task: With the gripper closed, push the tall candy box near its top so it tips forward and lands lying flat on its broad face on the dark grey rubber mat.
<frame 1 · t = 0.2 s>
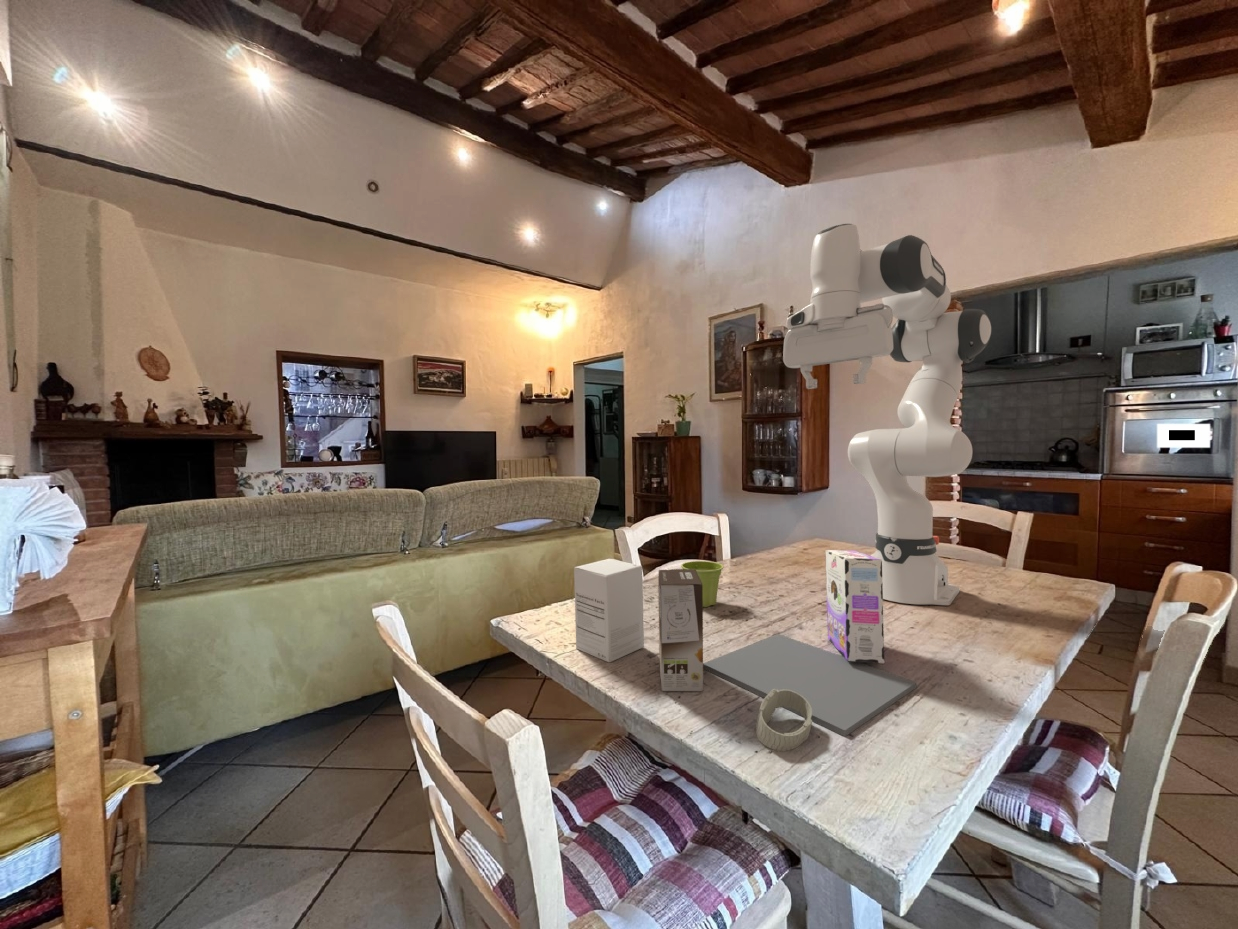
hand: (834, 386, 96), 47 cm above the table, tool pointing down, fingers open, 8 cm apart
candy box: (853, 651, 86), on the table
coffee box: (680, 679, 78), on the table
plant pot: (702, 604, 114), on the table
beige ribbed ring: (784, 735, 63), on the table
supplement box: (609, 649, 90), on the table
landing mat: (804, 677, 78), on the table
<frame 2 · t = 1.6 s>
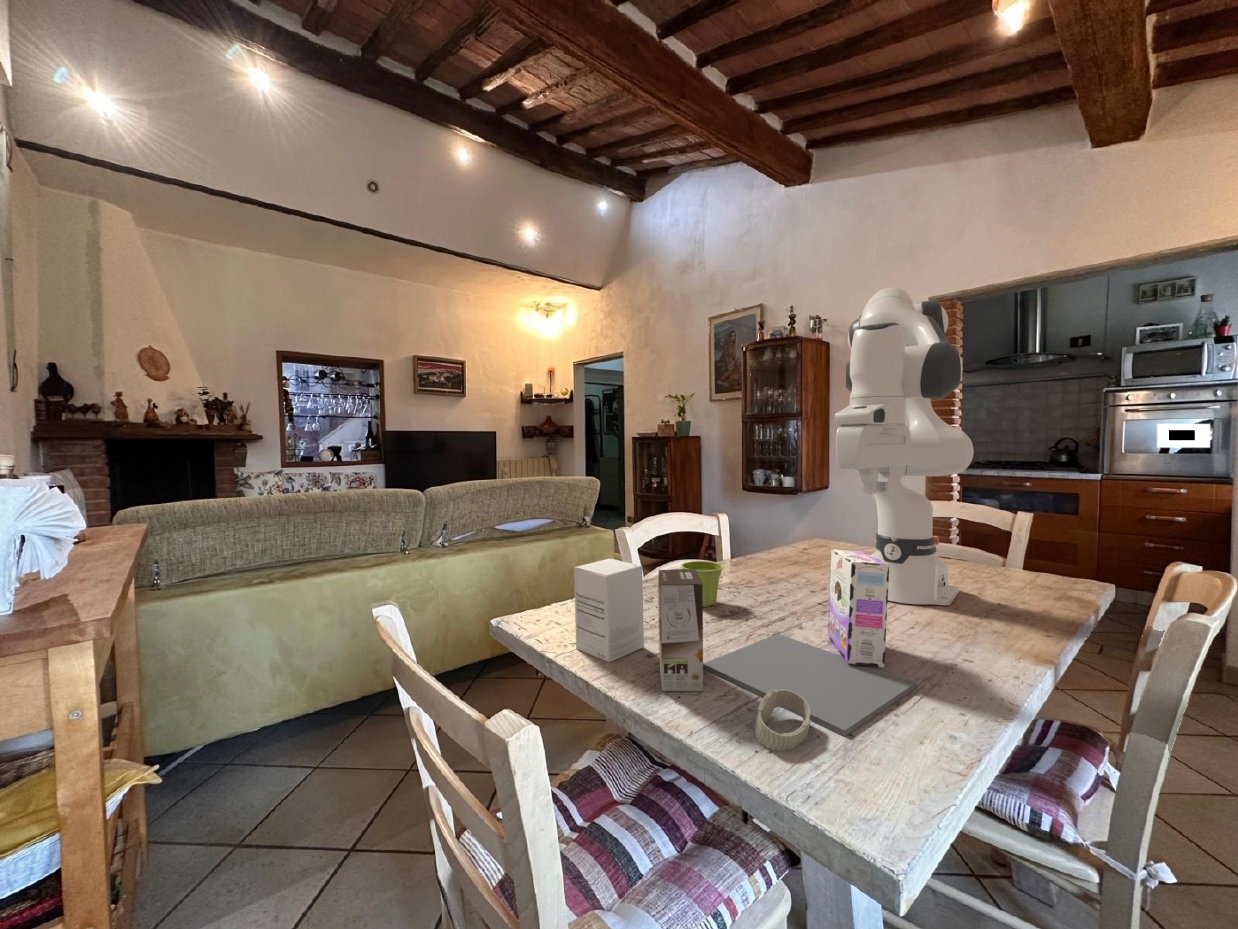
hand: (876, 492, 90), 27 cm above the table, tool pointing down, fingers open, 3 cm apart
candy box: (853, 652, 86), on the table, touching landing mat
everything else where it was.
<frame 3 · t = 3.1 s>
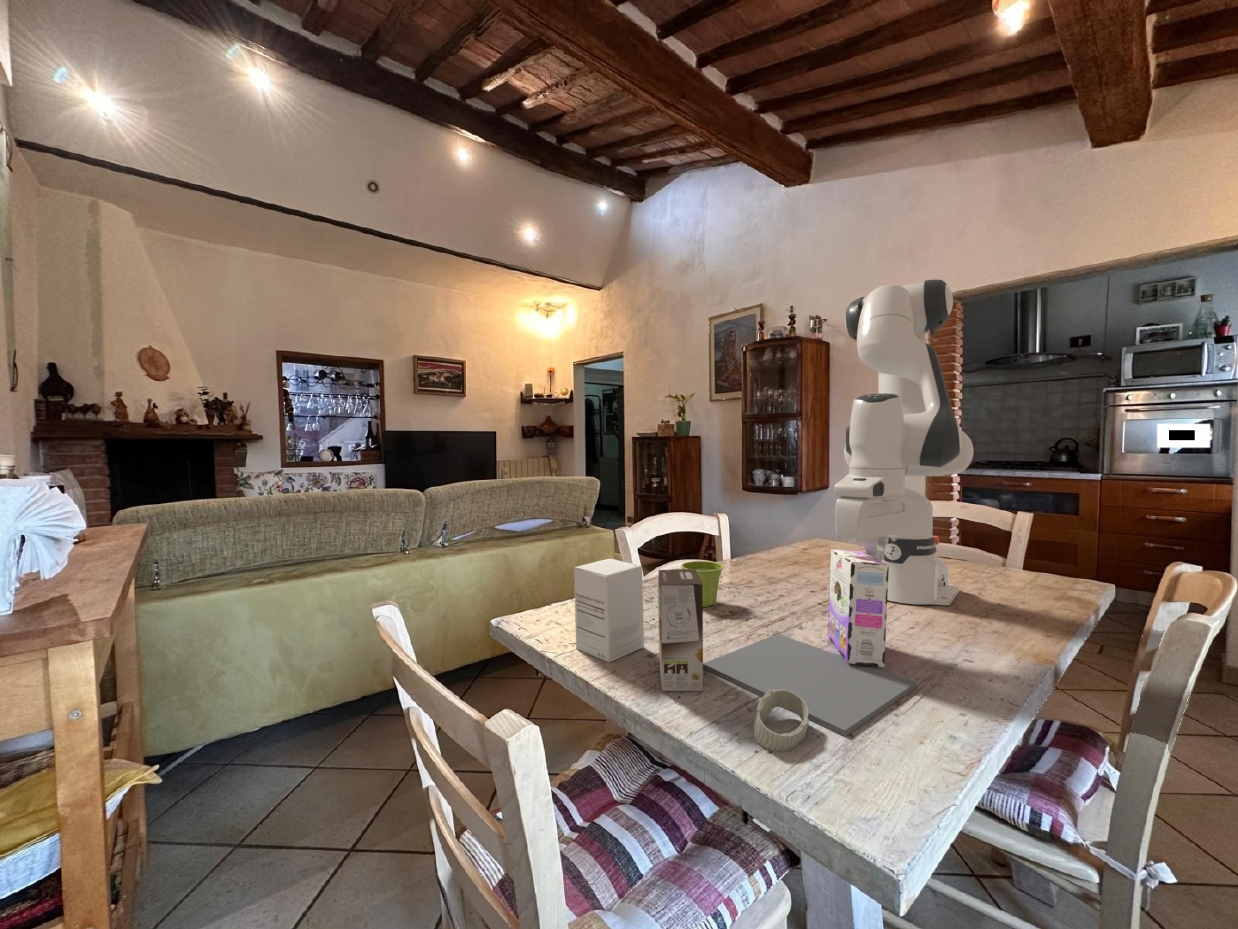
hand: (875, 561, 90), 15 cm above the table, tool pointing down, fingers closed
candy box: (853, 652, 86), on the table, touching gripper, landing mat
everything else where it was.
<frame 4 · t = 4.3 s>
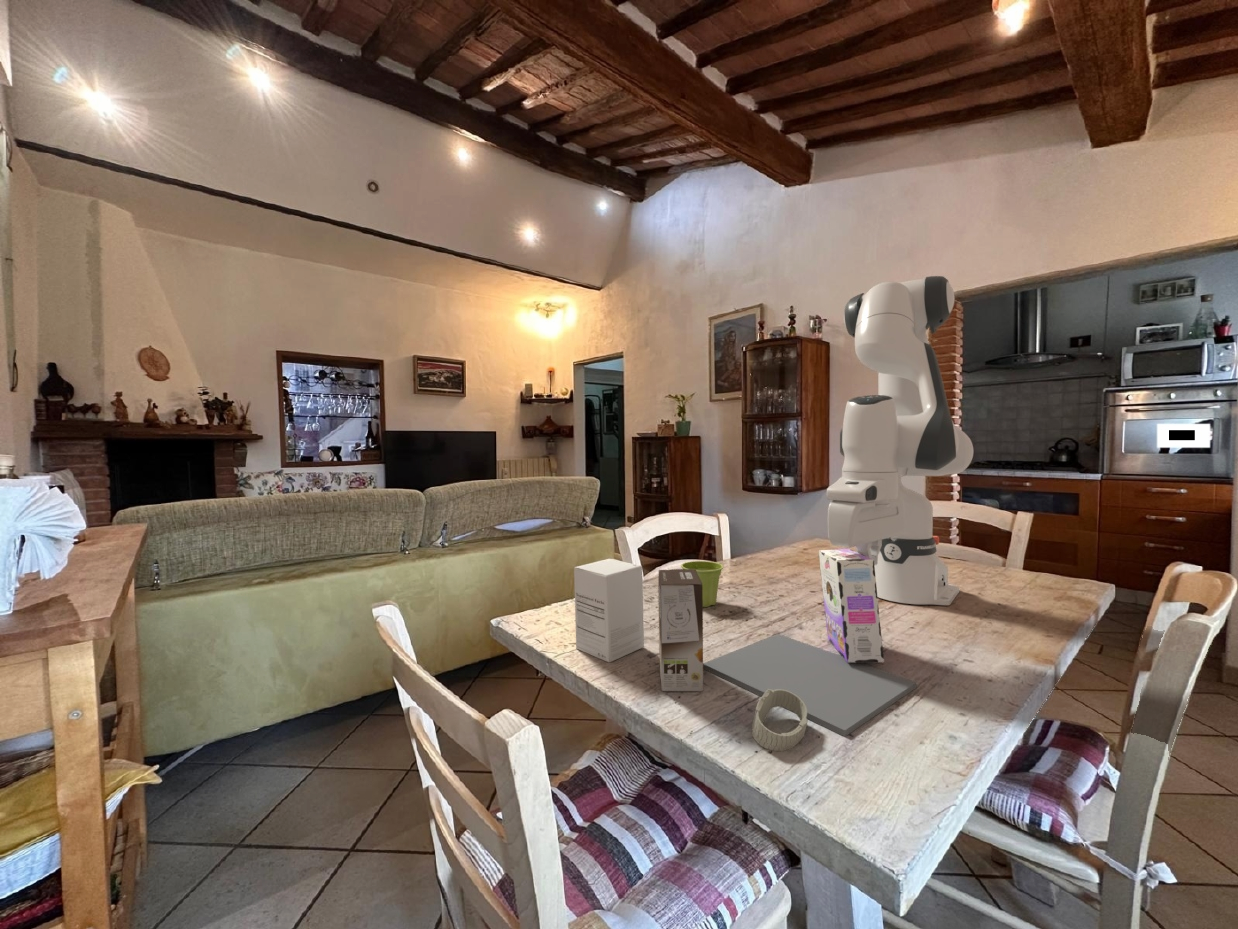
hand: (868, 565, 89), 14 cm above the table, tool pointing down, fingers closed
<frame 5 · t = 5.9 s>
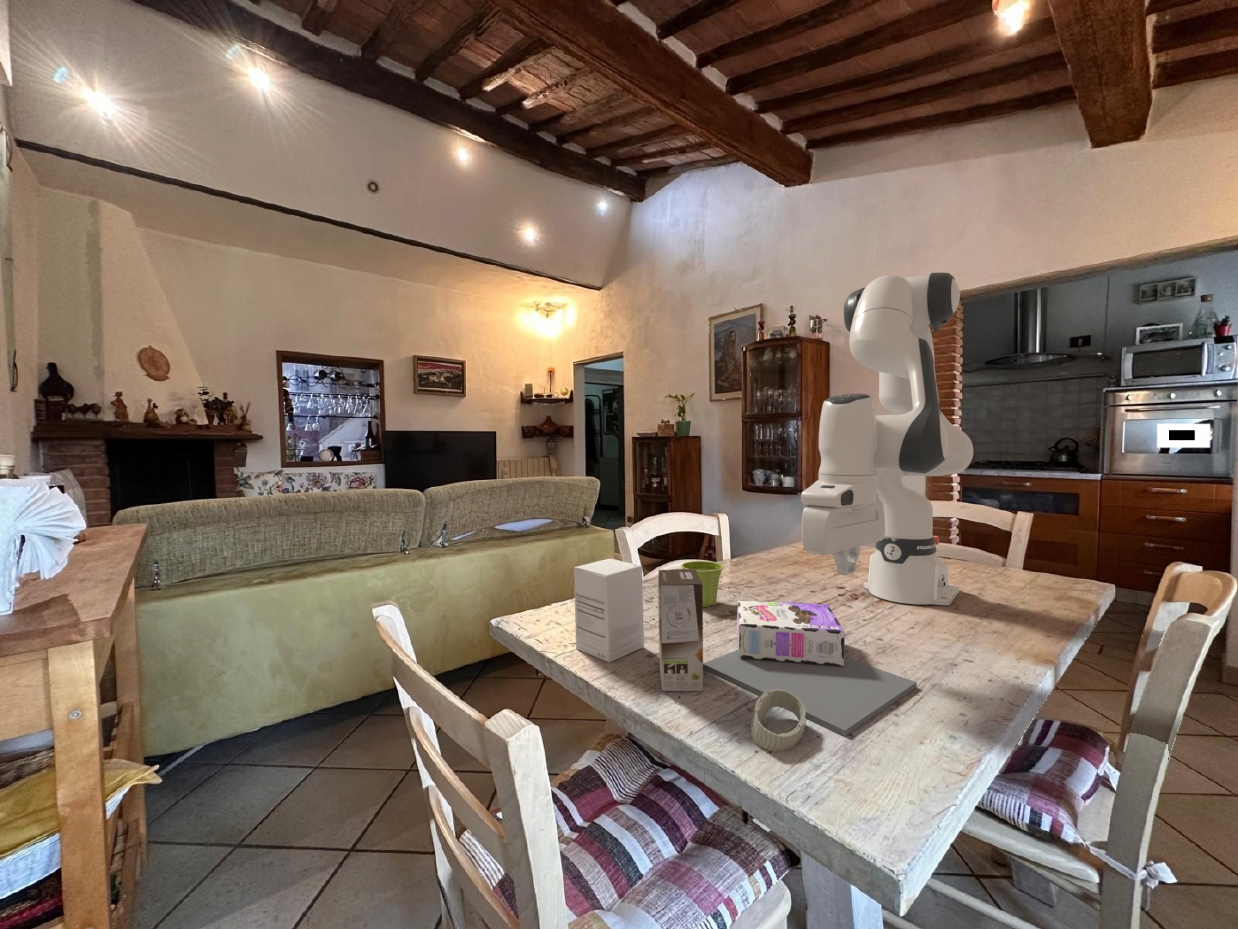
hand: (846, 573, 84), 14 cm above the table, tool pointing down, fingers closed
candy box: (837, 632, 86), point 4 cm above the table, touching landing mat
everything else where it was.
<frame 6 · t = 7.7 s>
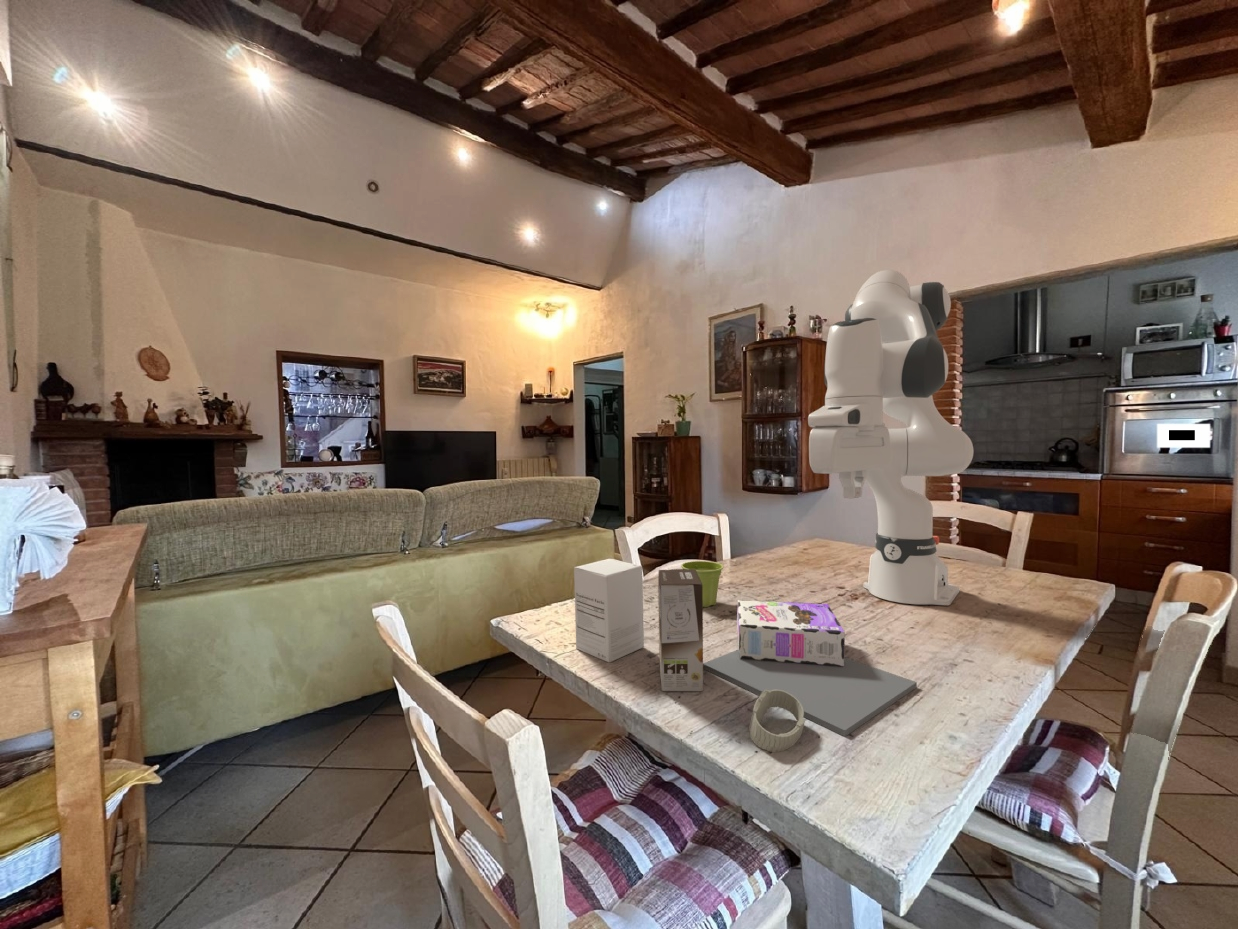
hand: (852, 497, 85), 27 cm above the table, tool pointing down, fingers closed
nothing on the table moved.
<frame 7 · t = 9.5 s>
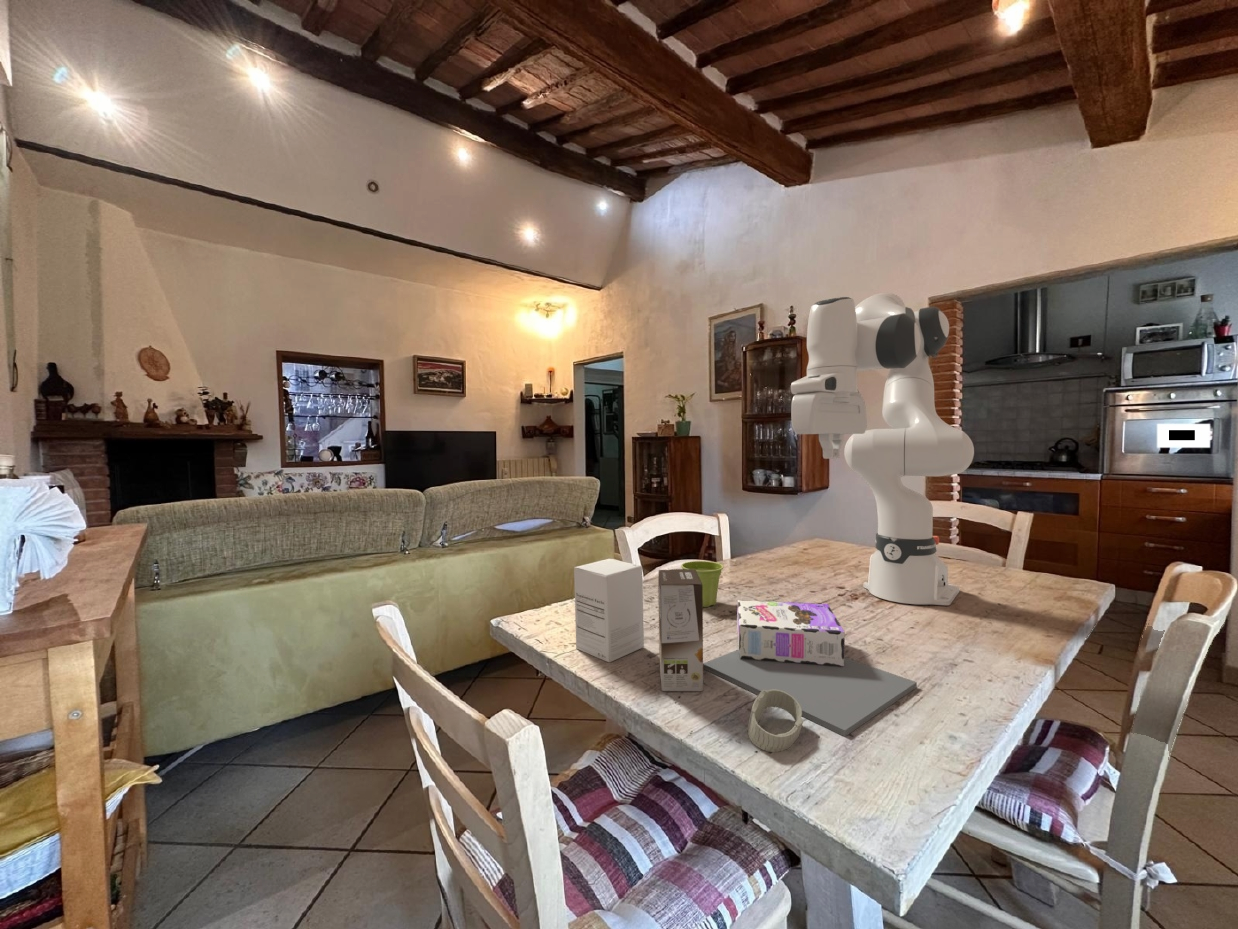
hand: (831, 458, 95), 33 cm above the table, tool pointing down, fingers closed
at the end: candy box tilted 90°; candy box touching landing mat; candy box inside the target area (3.5 cm from its centre), point 3.7 cm above the table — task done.
